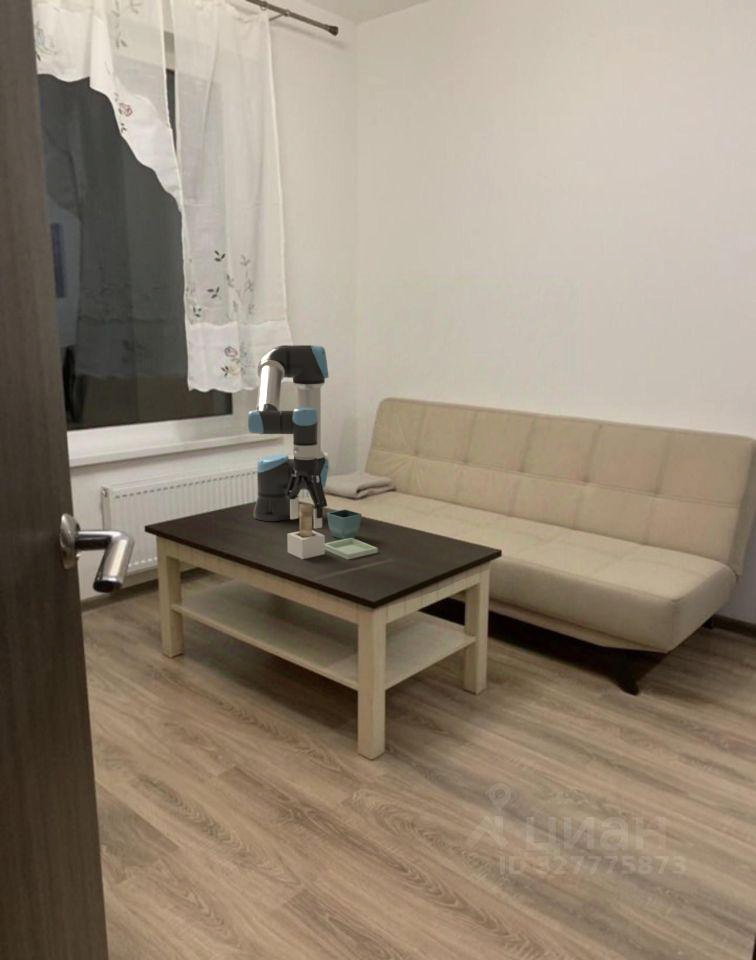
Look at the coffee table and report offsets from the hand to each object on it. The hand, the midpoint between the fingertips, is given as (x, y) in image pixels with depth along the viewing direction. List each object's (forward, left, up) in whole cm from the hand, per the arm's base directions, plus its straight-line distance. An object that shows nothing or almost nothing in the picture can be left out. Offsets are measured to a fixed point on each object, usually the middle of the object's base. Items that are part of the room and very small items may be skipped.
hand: (305, 523), depth 240 cm
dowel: (0, 0, -10) cm, 10 cm away
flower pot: (-8, +21, -11) cm, 25 cm away
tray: (+6, +13, -11) cm, 18 cm away
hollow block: (0, 0, -11) cm, 11 cm away
